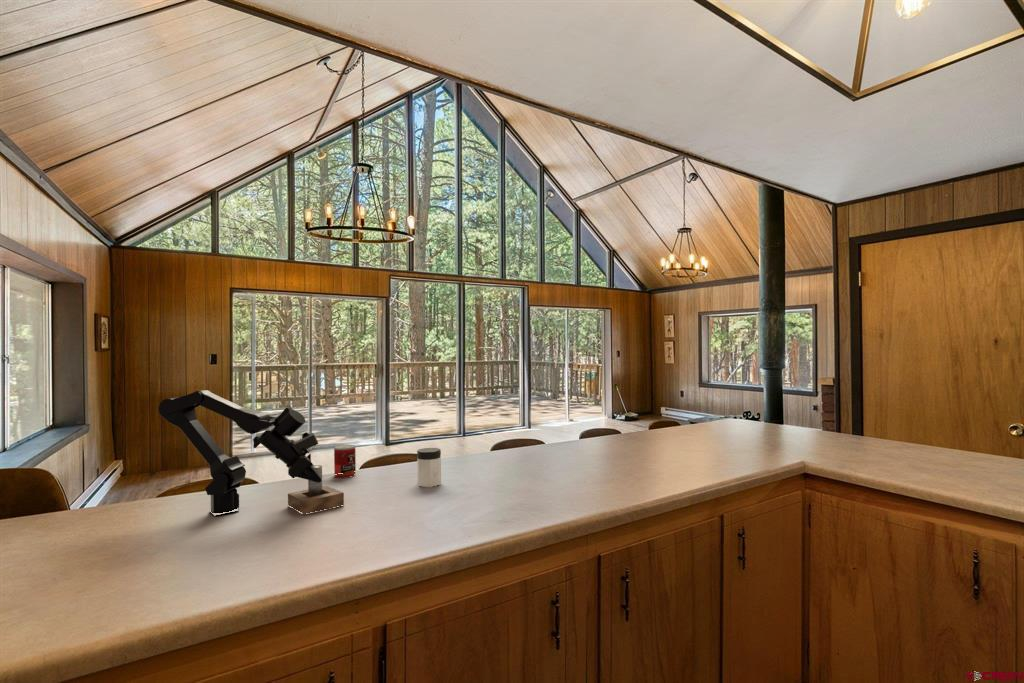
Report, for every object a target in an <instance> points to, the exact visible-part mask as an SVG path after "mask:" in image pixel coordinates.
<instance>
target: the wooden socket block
mask: <svg viewBox="0 0 1024 683" xmlns="http://www.w3.org/2000/svg"><path fill="white" fill-rule="evenodd" d="M322 490H323V495H319V496H314V497H308V489H303V490H298V491H294V492H289V493H287V506H288V505H289V506H291V507H293V508H294V509H296V510H298V511H300V512H302V513H303V514H306V513H310V512H315V511H320V510H324V509H329V508H333V507H337V506H341V505H344V506H345V498H344V495H345V494H344V493H345V492H343V491H340V490H338V489H336V488H334V487H331V486H328V485H322ZM337 508H338V507H337ZM333 509H334V508H333ZM329 510H330V509H329Z"/></svg>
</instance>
